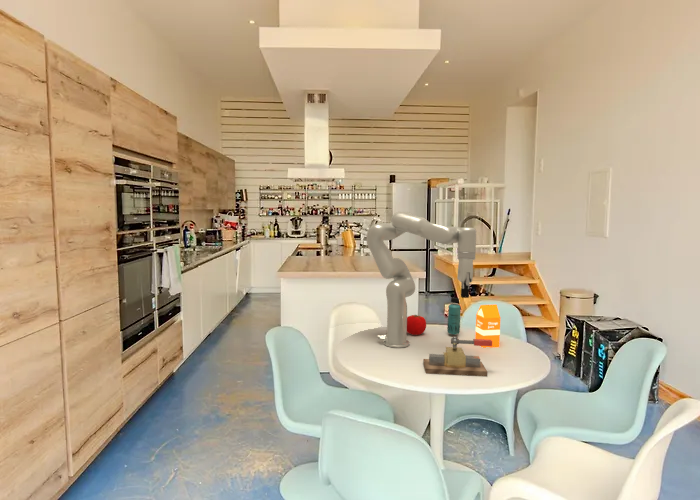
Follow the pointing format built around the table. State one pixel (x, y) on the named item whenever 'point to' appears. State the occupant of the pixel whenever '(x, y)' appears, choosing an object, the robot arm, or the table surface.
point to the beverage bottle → (454, 317)
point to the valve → (454, 358)
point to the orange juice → (488, 324)
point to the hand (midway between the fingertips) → (464, 297)
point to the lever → (472, 341)
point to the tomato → (416, 324)
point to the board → (454, 370)
